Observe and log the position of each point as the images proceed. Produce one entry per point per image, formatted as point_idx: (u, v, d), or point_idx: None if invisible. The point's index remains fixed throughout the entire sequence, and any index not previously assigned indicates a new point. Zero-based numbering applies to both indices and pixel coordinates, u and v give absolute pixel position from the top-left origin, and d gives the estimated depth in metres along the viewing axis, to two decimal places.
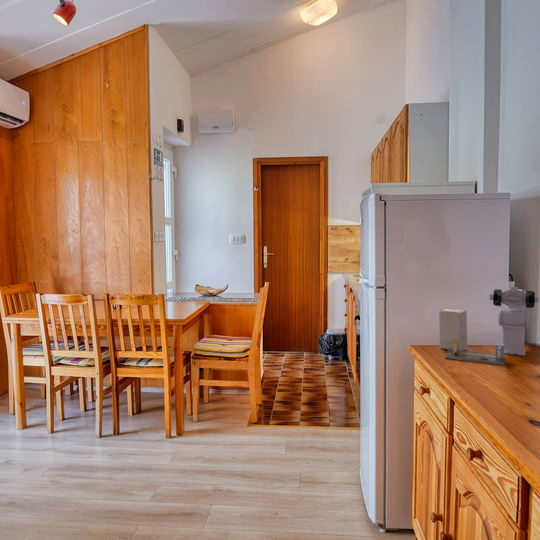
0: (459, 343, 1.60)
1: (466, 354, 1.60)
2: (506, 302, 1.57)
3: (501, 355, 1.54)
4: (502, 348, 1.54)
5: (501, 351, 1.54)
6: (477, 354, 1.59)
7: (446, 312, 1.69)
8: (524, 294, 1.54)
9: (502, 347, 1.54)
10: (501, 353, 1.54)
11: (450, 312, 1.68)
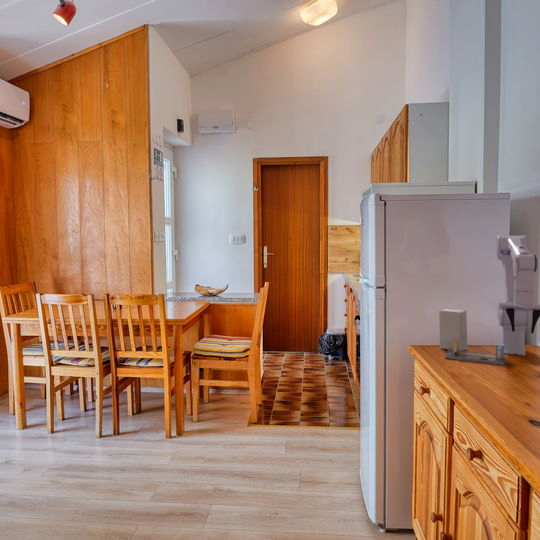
0: (459, 343, 1.60)
1: (466, 354, 1.60)
2: None
3: (501, 355, 1.54)
4: (502, 348, 1.54)
5: (501, 351, 1.54)
6: (477, 354, 1.59)
7: (446, 312, 1.69)
8: (534, 307, 1.48)
9: (502, 347, 1.54)
10: (501, 353, 1.54)
11: (450, 312, 1.68)
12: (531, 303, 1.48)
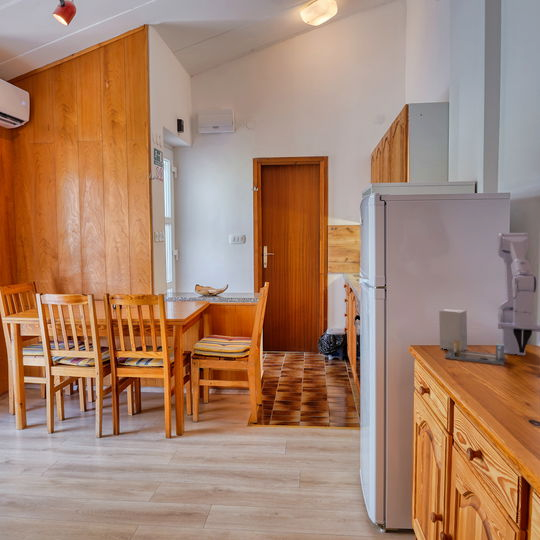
0: (459, 343, 1.60)
1: (466, 354, 1.60)
2: None
3: (501, 355, 1.54)
4: (502, 348, 1.54)
5: (501, 351, 1.54)
6: (477, 354, 1.59)
7: (446, 312, 1.69)
8: (533, 328, 1.49)
9: (502, 347, 1.54)
10: (501, 353, 1.54)
11: (450, 312, 1.68)
12: (530, 324, 1.49)
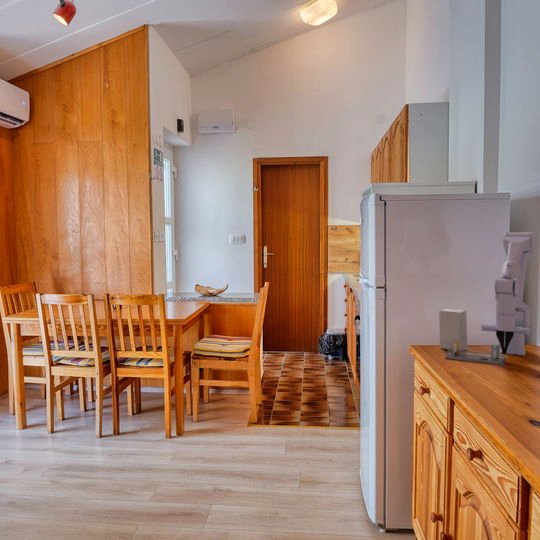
0: (459, 343, 1.60)
1: (466, 354, 1.60)
2: None
3: (496, 354, 1.55)
4: (497, 348, 1.54)
5: (496, 351, 1.55)
6: (477, 354, 1.59)
7: (446, 312, 1.69)
8: (515, 330, 1.52)
9: (497, 347, 1.54)
10: (496, 353, 1.55)
11: (450, 312, 1.68)
12: (512, 326, 1.52)
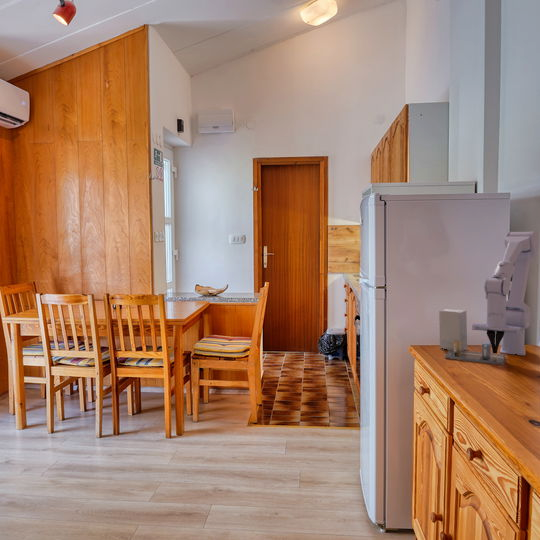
0: (459, 343, 1.60)
1: (466, 354, 1.60)
2: None
3: (487, 353, 1.56)
4: (488, 347, 1.56)
5: (487, 350, 1.56)
6: (477, 354, 1.59)
7: (446, 312, 1.69)
8: (505, 330, 1.53)
9: (488, 346, 1.56)
10: (487, 352, 1.56)
11: (450, 312, 1.68)
12: (502, 325, 1.53)
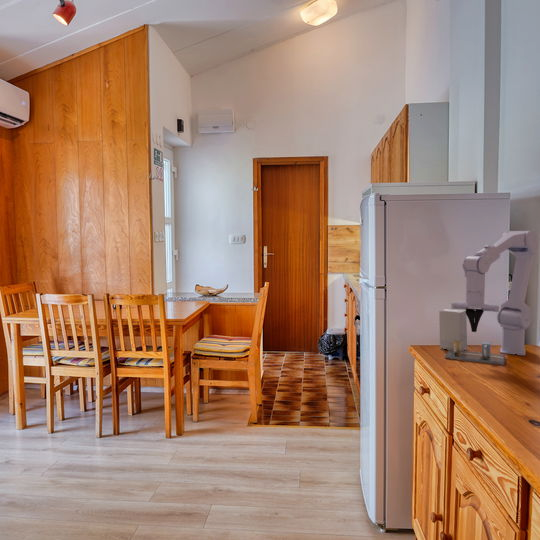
0: (459, 343, 1.60)
1: (466, 354, 1.60)
2: None
3: (487, 353, 1.56)
4: (488, 347, 1.56)
5: (487, 350, 1.56)
6: (477, 354, 1.59)
7: (446, 312, 1.69)
8: (484, 308, 1.52)
9: (488, 346, 1.56)
10: (487, 352, 1.56)
11: (450, 312, 1.68)
12: (481, 303, 1.52)
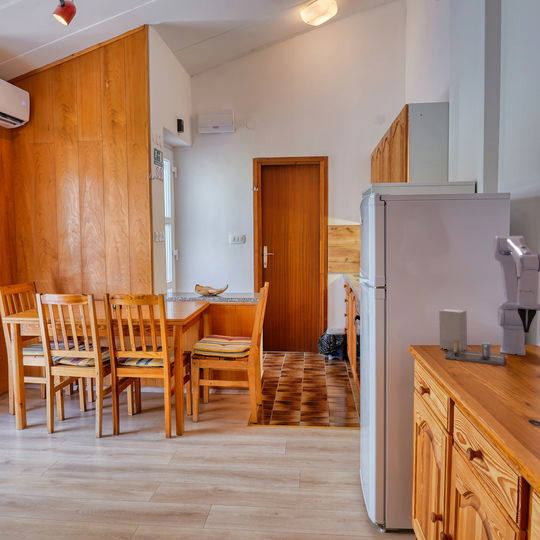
0: (459, 343, 1.60)
1: (466, 354, 1.60)
2: None
3: (487, 353, 1.56)
4: (488, 347, 1.56)
5: (487, 350, 1.56)
6: (477, 354, 1.59)
7: (446, 312, 1.69)
8: (538, 307, 1.48)
9: (488, 346, 1.56)
10: (487, 352, 1.56)
11: (450, 312, 1.68)
12: (535, 303, 1.48)
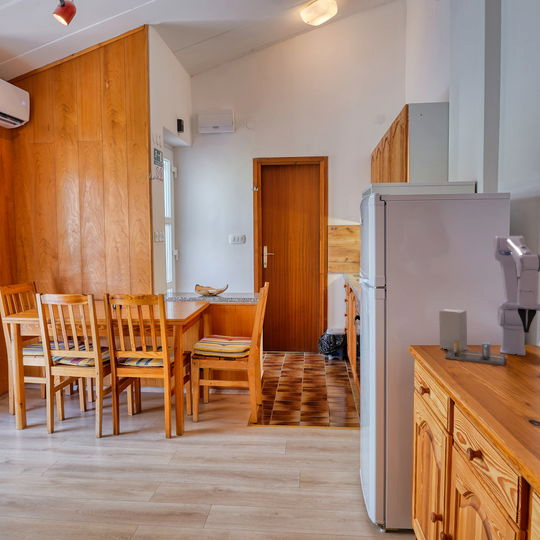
0: (459, 343, 1.60)
1: (466, 354, 1.60)
2: None
3: (487, 353, 1.56)
4: (488, 347, 1.56)
5: (487, 350, 1.56)
6: (477, 354, 1.59)
7: (446, 312, 1.69)
8: (538, 307, 1.48)
9: (488, 346, 1.56)
10: (487, 352, 1.56)
11: (450, 312, 1.68)
12: (535, 303, 1.48)
